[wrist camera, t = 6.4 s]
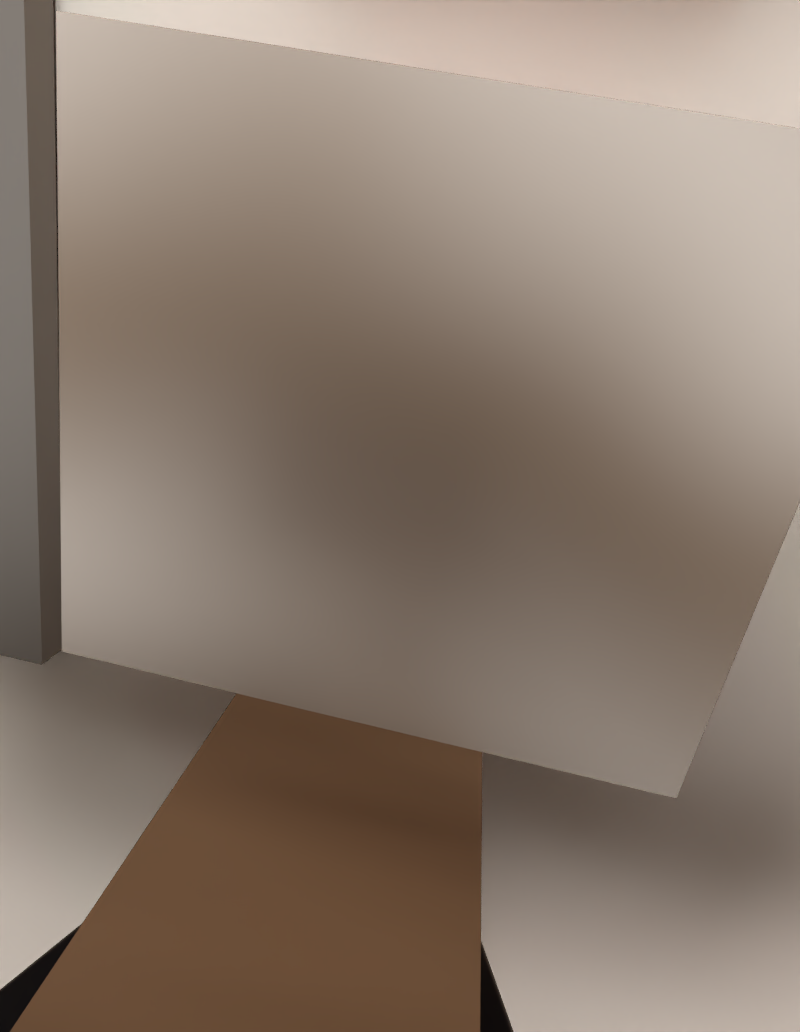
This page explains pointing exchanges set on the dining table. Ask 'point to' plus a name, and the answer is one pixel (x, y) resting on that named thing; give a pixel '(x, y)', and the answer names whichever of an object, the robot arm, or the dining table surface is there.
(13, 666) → the dining table surface
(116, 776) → the dining table surface
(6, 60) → the mat
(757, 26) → the dining table surface
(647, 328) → the turner
